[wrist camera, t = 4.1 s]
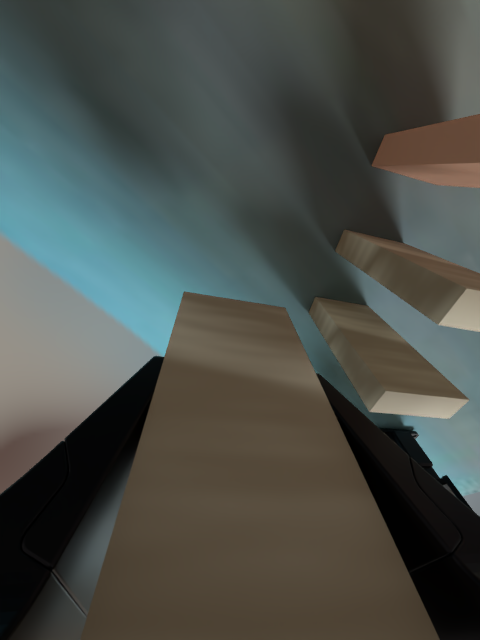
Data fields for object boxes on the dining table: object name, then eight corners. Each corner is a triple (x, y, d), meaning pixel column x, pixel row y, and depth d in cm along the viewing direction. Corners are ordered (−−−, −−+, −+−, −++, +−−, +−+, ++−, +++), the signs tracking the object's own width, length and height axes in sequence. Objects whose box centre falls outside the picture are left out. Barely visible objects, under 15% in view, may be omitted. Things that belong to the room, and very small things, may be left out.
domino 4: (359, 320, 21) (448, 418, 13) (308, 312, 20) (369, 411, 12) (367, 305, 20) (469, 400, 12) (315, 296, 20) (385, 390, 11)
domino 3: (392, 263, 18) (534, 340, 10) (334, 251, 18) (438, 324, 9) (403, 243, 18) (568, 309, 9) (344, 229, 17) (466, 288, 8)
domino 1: (275, 333, 13) (386, 662, 4) (181, 320, 12) (82, 701, 3) (285, 307, 12) (447, 655, 3) (183, 291, 11) (60, 705, 2)
